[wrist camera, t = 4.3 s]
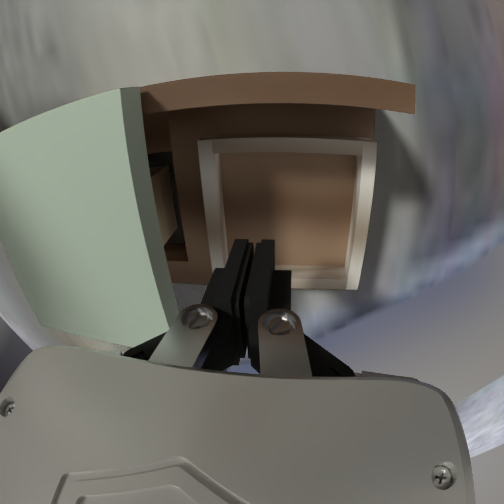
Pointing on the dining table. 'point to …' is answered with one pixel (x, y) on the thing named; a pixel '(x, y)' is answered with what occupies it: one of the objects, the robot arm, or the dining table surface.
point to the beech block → (163, 201)
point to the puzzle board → (272, 168)
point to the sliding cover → (86, 220)
